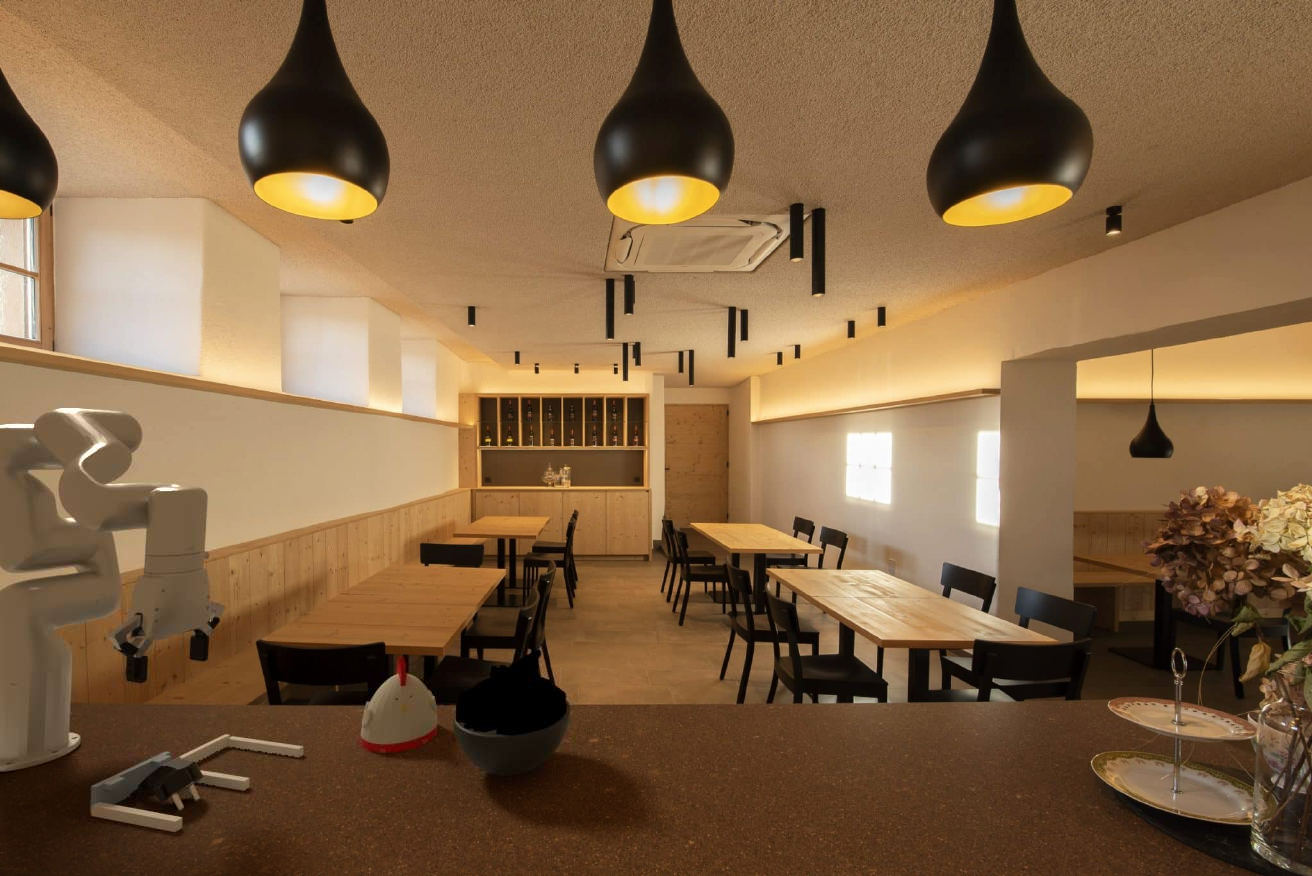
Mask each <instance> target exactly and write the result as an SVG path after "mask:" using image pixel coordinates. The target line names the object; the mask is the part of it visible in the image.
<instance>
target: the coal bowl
mask: <svg viewBox="0 0 1312 876" xmlns="http://www.w3.org/2000/svg"><path fill="white" fill-rule="evenodd" d="M541 657H542V651H541V650H540V649H536V650H534V651H531V652H530V653H527V654H526V655H525V656H523V657H520V658H519V659H518V660H517V662H513V663H511V664H510V665H509V666H507V665H505V664H500V665H499V666H497V665H496V666H495V665H492V666H491V668H490V673H489V676H490V677H488V678H486V679H484V680H480V681H479V682H477V683H476V685H474V686H473V687H472V688H470V689H469V690H467V691H462V692H461V695H460V696H459V699H458V701H457V702H456V704H455V713H454V714H453V730H454V731H453V732H454V734H455V738H456V742H457V744H458V745H459V748H460V750H461V752H462V753H463V754H464V756H465V757H466V758H467V759H468V761H469V762H471V763H472V764H473V765H474V766H475V767H476V768H479V769H480V770H481V771H483V772H486V773H488V774H491V775H496V776H501V777H503V776H504V777H508V776H518V775H522V774H525V773H527V772H530V771H532V770H534V769H535V768H537V767H539V766H540V765H542V764H544V762H546V761H547V760H548V759H549V758H550V757H551V756H553V754H554V753H555V751H556V750H557V749H558V748H559V747H560V744H561V743H562V741H563V739H564V737H565V734H566V732H567V730H568V727H569V723H570V717H571V710H572V709H571V704H570V703H569V701H568V700H567V694H566V692H565V691H564V690H563V689H562V688H560V687H559V686H558V685H555V684H552V681H551V679H549V678H545V677H543V676H541V675H540V674H539V668H540V664H539V659H540V658H541Z"/></svg>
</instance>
